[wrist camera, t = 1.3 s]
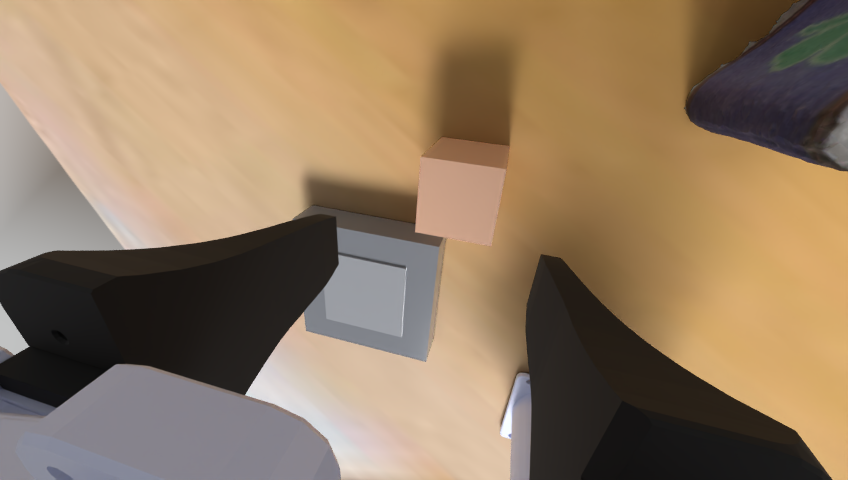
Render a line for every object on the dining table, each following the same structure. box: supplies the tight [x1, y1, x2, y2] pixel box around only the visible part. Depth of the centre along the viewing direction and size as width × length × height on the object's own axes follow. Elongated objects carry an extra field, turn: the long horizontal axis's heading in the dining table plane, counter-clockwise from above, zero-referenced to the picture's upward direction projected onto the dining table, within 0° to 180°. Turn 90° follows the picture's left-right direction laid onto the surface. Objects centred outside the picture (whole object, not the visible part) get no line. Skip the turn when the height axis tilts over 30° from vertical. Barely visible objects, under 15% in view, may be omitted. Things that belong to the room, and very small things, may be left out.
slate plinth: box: [293, 205, 446, 362], centre depth 25 cm, size 10×10×3 cm
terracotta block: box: [415, 137, 510, 246], centre depth 19 cm, size 4×4×5 cm
